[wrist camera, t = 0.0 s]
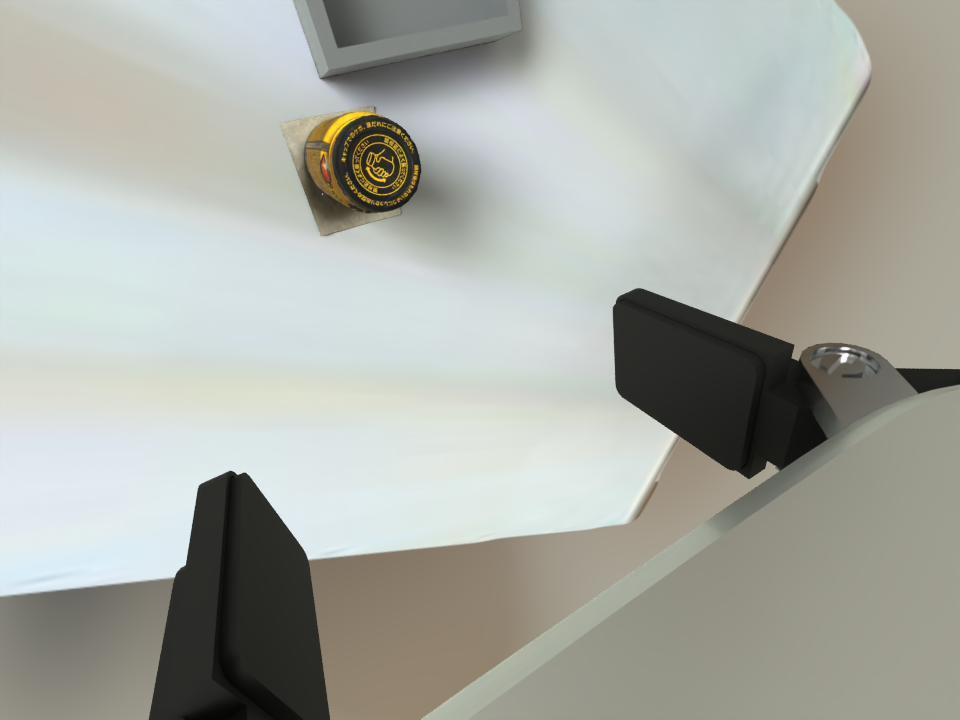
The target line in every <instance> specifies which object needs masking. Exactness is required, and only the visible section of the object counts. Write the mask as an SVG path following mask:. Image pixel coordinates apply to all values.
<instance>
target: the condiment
mask: <svg viewBox="0 0 960 720" xmlns="http://www.w3.org/2000/svg"><path fill="white" fill-rule="evenodd" d="M280 126H281V128H282V131H283V134H284V137H285V139H286V142H287V145H288V148H289V150H290V153H291V155H292V158H293V161H294V164H295V167H296V169H297V172H298V175H299V178H300V180H301V183H302V186H303V188H304V191H305V194H306V196H307V199H308V202H309V205H310V207H311V210H312V213H313V216H314V218H315V221H316V224H317V226H318V229H319V232H320V235H321V236H323V235H327V234H330V233H333V232H337V231H341V230H344V229H348V228H351V227H355V226H358V225H362V224H366V223H368V222H373V221H377V220H381V219H384V218H388V217H392V216H396V215H399V214H401V211H400V207H402V206H403V205H404V204H406V203H407V202H408V201H409V200H410V198H411V197H412V196H413V194H414V193H415V192H416V191H417V187H418V183H419V179H420V174H421V164H420V160H419V154H418V151H417V148H416V145H415V143H414V142H413V141H412V140H411V138H410V136H409V135H408V134H407V132H406V130H404V129H403V128H402V127H401V126H399V125H398V124H397V123H395V122H393V121H391V120H389V119H388V118H385V117H382V116H380V115H378V114H375V110H374V106H369V107H364V108H358V109H353V110H348V111H343V112H337V113H332V114H326V115H321V116H316V117H310V118H304V119H299V120H294V121H288V122H283V123H280ZM322 193H323V195H322Z"/></svg>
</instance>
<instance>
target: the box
mask: <svg viewBox="0 0 960 720" xmlns="http://www.w3.org/2000/svg"><path fill="white" fill-rule="evenodd" d="M293 2H294V5H295V8H296V10H297V13H298V16H299V19H300V22H301V25H302V28H303V31H304V34H305V37H306V39H307V42H308V45H309V48H310V51H311V54H312V57H313V60H314V63H315V66H316V68H317V71H318V74H319V77H320V78H325V77H330V76H334V75H339V74H344V73H348V72H353V71H358V70H362V69H367V68H372V67H376V66H381V65H386V64H391V63H395V62H400V61H405V60H409V59H414V58H419V57H423V56H428V55H433V54H437V53H442V52H447V51H451V50H456V49H461V48H466V47H470V46H475V45H480V44H484V43H489V42H494V41H496V40H499V39H501V38H503V37H506V36H508V35H510V34H513V33H515V32H518V31H520V30H522V25H521V17H520V8H519V0H293Z"/></svg>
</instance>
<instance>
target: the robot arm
mask: <svg viewBox="0 0 960 720" xmlns="http://www.w3.org/2000/svg"><path fill="white" fill-rule="evenodd" d="M613 328H614V355H615V382H616V388H617V391H618V393H619V394H620V395H621V396H622V397H623V398H624V399H626V400H627V401H629V402H630V403H632V404H633V405H635V406H636V407H637V408H639V409H640V410H642V411H643V412H645V413H646V414H648V415H649V416H651V417H652V418H654V419H655V420H657V421H658V422H659V423H661V424H662V425H664V426H665V427H667V428H668V429H670V430H671V431H673V432H674V433H676V434H677V435H678V436H680V437H681V438H683V439H684V440H686V441H687V442H689V443H690V444H692V445H693V446H695V447H696V448H698V449H699V450H700V451H702V452H703V453H705V454H706V455H708V456H709V457H711V458H712V459H714V460H715V461H717V462H718V463H720V464H721V465H723V466H724V467H725V468H727V469H729V470H733V471H734V470H736V471H738V472H739V473H741V474H742V475H744V476H745V477H747V478H748V479H750V478H752V477H753V476H755V475H756V474H758V473H759V472H761V471H762V470H763V469H765V467H766V463H767V461H769V462H770V463H772V464H773V465H775V469H776V471H777V473H776V474H775V475H773V476H772V477H771V478H769V479H768V480H766V481H765V482H763V483H762V484H760V485H759V486H758V487H756V488H754V489H753V490H752V491H750V492H748V493H747V494H745V495H744V496H743V497H741V498H740V499H738V500H737V501H735V502H734V503H732V504H731V505H729V506H728V507H726V508H725V509H723V510H722V511H720V512H719V513H717V514H716V515H715V516H713V517H712V518H710V519H709V520H707V521H706V522H704V523H703V524H701V525H700V526H699V527H697V528H696V529H694V530H693V531H691V532H690V533H688V534H687V535H685V536H684V537H682V538H681V539H680V540H678V541H677V542H675V543H674V544H672V545H671V546H670V547H668V548H666V549H665V550H663V551H662V552H661V553H659V554H658V555H656V556H655V557H653V558H652V559H650V560H649V561H647V562H646V563H645V564H643V565H642V566H640V567H639V568H637V569H636V570H635V571H633V572H632V573H630V574H629V575H627V576H626V577H624V578H623V579H621V580H620V581H618V582H617V583H615V584H614V585H613V586H611V587H610V588H608V589H607V590H605V591H604V592H602V593H601V594H599V595H598V596H597V597H595V598H594V599H592V600H591V601H589V602H588V603H587V604H585V605H584V606H582V607H581V608H579V609H578V610H576V611H575V612H573V613H572V614H571V615H569V616H568V617H566V618H565V619H563V620H562V621H560V622H559V623H558V624H556V625H555V626H553V627H552V628H550V629H549V630H548V631H546V632H545V633H543V634H542V635H540V636H539V637H537V638H536V639H535V640H533V641H532V642H530V643H529V644H527V645H526V646H524V647H523V648H522V649H520V650H519V651H517V652H516V653H514V654H513V655H511V656H510V657H509V658H507V659H506V660H504V661H503V662H501V663H500V664H499V665H497V666H496V667H494V668H493V669H491V670H490V671H489V672H487V673H486V674H484V675H483V676H481V677H480V678H478V679H477V680H475V681H474V682H473V683H471V684H470V685H468V686H467V687H465V688H464V689H463V690H461V691H460V692H458V693H457V694H456V695H454V696H453V697H452V698H450V699H449V700H447V701H446V702H445V703H443V704H442V705H440V706H439V707H438V708H436V709H435V710H433V711H432V712H431V713H429V714H428V715H426V716H425V717H424V718H422V719H421V720H960V369H905V368H903V369H902V368H901V369H900V368H894V367H893V366H892V365H891V364H890V363H889V362H888V361H887V360H886V359H885V358H884V357H882V356H881V355H880V354H878V353H875V352H873V351H871V350H869V349H866V348H863V347H859V346H856V345H849V344H844V343H823V344H816V345H813V346H810V347H808V348H806V349H805V350H803V351H802V353H801V356H800V359H799V361H797V360H794V359H792V358H791V357H792V353H793V349H794V345H793V344H791V343H788V342H785V341H782V340H780V339H777V338H774V337H772V336H769V335H766V334H763V333H761V332H758V331H755V330H753V329H750V328H747V327H745V326H742V325H739V324H736V323H734V322H731V321H728V320H726V319H723V318H720V317H718V316H715V315H712V314H709V313H707V312H704V311H701V310H699V309H696V308H693V307H690V306H688V305H685V304H682V303H680V302H677V301H674V300H671V299H669V298H666V297H663V296H661V295H658V294H655V293H653V292H650V291H647V290H644V289H641V288H637V289H634V290H632V291H630V292H628V293H625V294H623V295H621V296H619V297H618V298H617V300H616V304H615V305H614V307H613ZM149 720H330V715H329V708H328V701H327V693H326V686H325V678H324V672H323V663H322V656H321V649H320V641H319V634H318V626H317V619H316V612H315V604H314V597H313V589H312V582H311V575H310V567H309V562H308V559H307V556H306V553H305V551H304V550H303V548H302V547H301V545H300V544H299V543H298V541H297V540H296V539H295V537H294V536H293V534H292V533H291V532H290V530H289V529H288V528H287V526H286V525H285V524H284V522H283V521H282V520H281V518H280V517H279V515H278V514H277V513H276V511H275V510H274V509H273V507H272V506H271V505H270V503H269V502H268V501H267V499H266V498H265V496H264V495H263V494H262V492H261V491H260V490H259V488H258V487H257V486H256V484H255V483H254V482H253V480H252V479H251V478H250V476H249V475H248V474H247V473H242V474H239V475H237V474H236V473H235V472H233V471H229V472H226V473H224V474H222V475H220V476H217V477H215V478H213V479H211V480H209V481H206V482H204V483H202V484H201V485H199V488H198V492H197V498H196V505H195V511H194V517H193V524H192V530H191V536H190V543H189V549H188V555H187V561H186V566H184V567H182V568H180V570H179V571H178V572H177V573H176V576H175V579H174V583H173V589H172V594H171V600H170V606H169V611H168V616H167V622H166V627H165V633H164V638H163V644H162V650H161V655H160V661H159V666H158V672H157V677H156V683H155V688H154V694H153V699H152V705H151V711H150V717H149Z"/></svg>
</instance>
